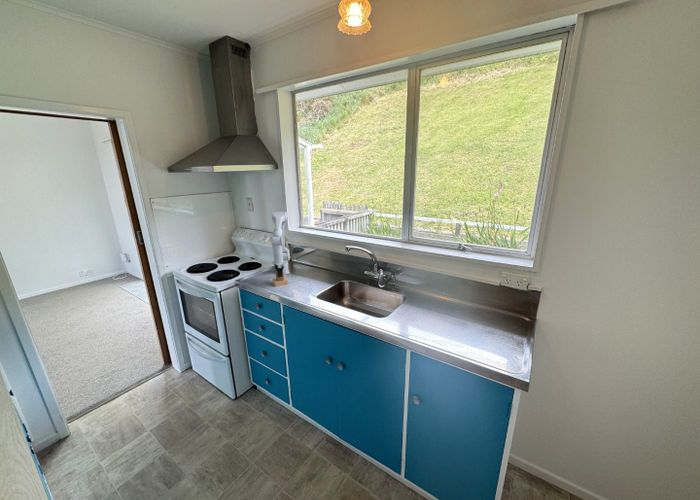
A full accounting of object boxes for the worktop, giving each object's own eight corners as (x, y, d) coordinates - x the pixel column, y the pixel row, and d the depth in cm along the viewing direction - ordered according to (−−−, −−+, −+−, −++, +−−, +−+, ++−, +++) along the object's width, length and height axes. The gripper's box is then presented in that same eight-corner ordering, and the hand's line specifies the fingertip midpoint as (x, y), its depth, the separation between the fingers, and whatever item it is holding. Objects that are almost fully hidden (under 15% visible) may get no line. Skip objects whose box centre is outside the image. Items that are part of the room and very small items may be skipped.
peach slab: (272, 283, 185) (272, 278, 185) (284, 280, 189) (284, 276, 188) (275, 287, 179) (275, 282, 178) (288, 284, 182) (287, 280, 181)
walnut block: (275, 278, 184) (275, 271, 183) (282, 278, 186) (282, 270, 185) (276, 281, 180) (276, 273, 179) (283, 280, 182) (283, 273, 180)
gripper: (271, 252, 184) (272, 272, 188) (272, 258, 171) (274, 279, 174) (282, 251, 186) (283, 271, 190) (284, 257, 173) (285, 278, 176)
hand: (279, 275), depth 182 cm, fingers open, 5 cm apart
